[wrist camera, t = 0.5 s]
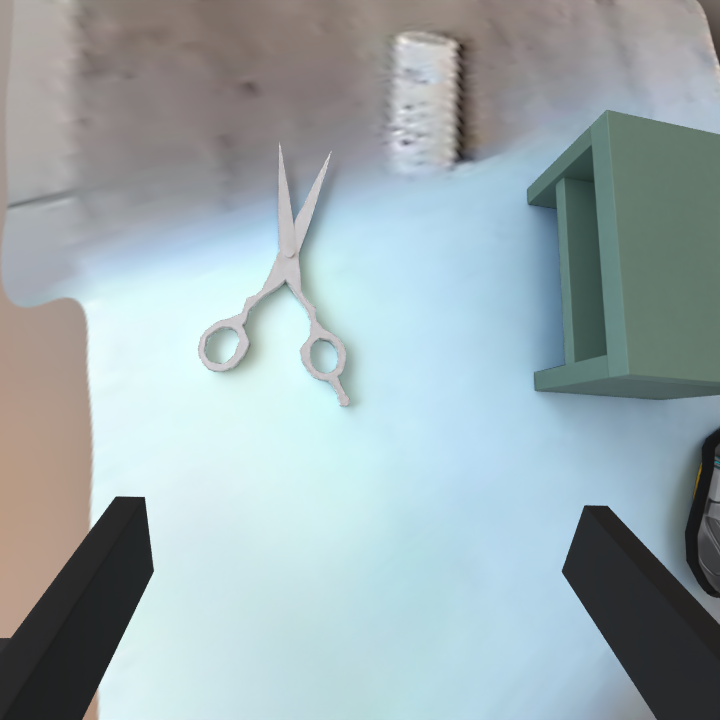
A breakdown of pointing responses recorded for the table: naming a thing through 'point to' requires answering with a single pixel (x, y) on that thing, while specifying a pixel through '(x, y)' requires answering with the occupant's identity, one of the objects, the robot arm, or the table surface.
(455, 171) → the table surface
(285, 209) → the scissors
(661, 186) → the desk shelf
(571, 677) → the table surface
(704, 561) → the computer mouse
